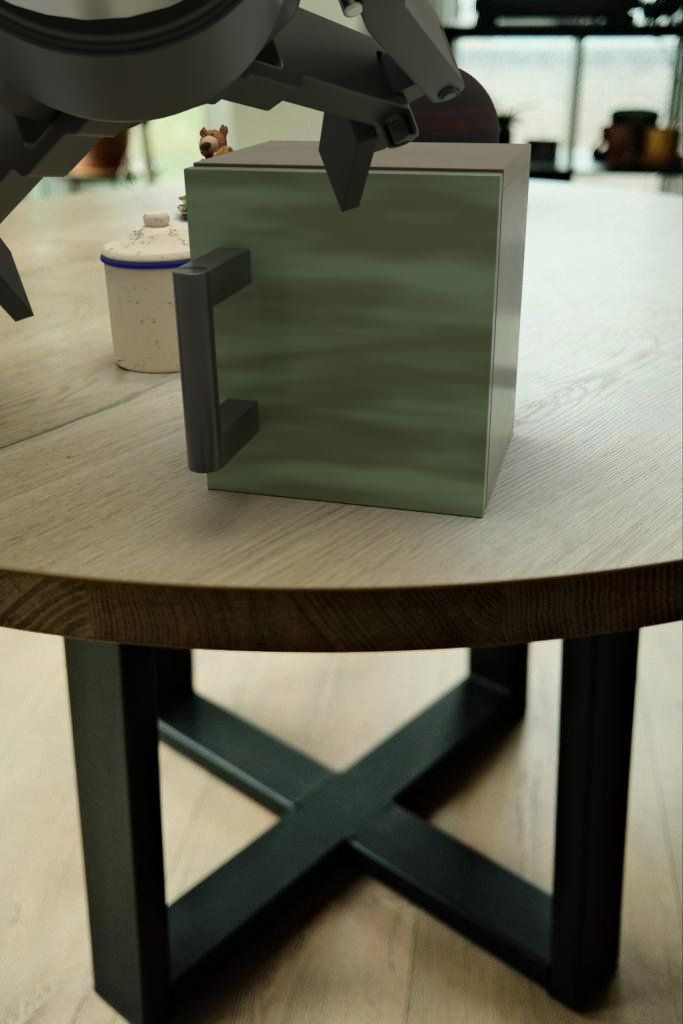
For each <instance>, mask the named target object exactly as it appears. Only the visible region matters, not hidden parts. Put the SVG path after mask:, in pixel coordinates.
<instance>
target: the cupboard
mask: <svg viewBox="0 0 683 1024" xmlns="http://www.w3.org/2000/svg"><path fill="white" fill-rule="evenodd" d="M319 143H320V140H277V139H276V140H274V139H273V140H272V139H271V140H267V141H264V142H261V143H257V144H253V145H250V146H246V147H242V148H240V149H236V150H234V151H232V152H229V153H225V154H222V155H218V156H215V157H211V158H208V159H205V158H204V159H205V160H201V159H200V160H198V161H195V162H193V163H192V166H196V167H245V168H294V169H325V167H324V164H323V161H322V159H321V156H320V153H319V151H318V150H319ZM531 156H532V144H531V143H500V142H499V143H428V142H410V143H408V144H406V145H403V146H401V147H398V148H393V149H391V148H388V147H387V148H386V149H383V150H380V151H377V152H374V154H373V158H372V162H371V165H370V169H369V170H392V171H441V172H490V173H502V174H503V182H502V201H501V220H500V239H499V259H498V278H497V297H496V316H495V335H494V354H493V373H492V393H491V412H490V431H489V450H488V469H487V488H486V508H485V510H487V509H488V506H489V503H490V500H491V497H492V495H493V492H494V489H495V486H496V484H497V480H498V477H499V475H500V472H501V470H502V467H503V463H504V461H505V458H506V456H507V453H508V450H509V447H510V444H511V441H512V438H513V436H514V427H515V425H514V424H515V410H516V397H517V395H516V394H517V381H518V380H517V379H518V365H519V364H518V363H519V347H520V346H519V345H520V332H521V318H522V317H521V316H522V315H521V314H522V300H523V299H522V298H523V284H524V283H523V282H524V269H525V267H524V265H525V251H526V250H525V249H526V237H527V236H526V234H527V220H528V219H527V218H528V207H529V206H528V203H529V186H530V173H531V172H530V171H531Z"/></svg>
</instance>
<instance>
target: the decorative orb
mask: <svg viewBox="0 0 683 1024" xmlns="http://www.w3.org/2000/svg"><path fill="white" fill-rule="evenodd" d="M458 69H459V71H460V74H461V77H462V79H463V82H464V86H465V87H464V88H463V90H462V91H461V93H460V94H458V95H457V96H456V97H453V98H452V99H450V100H447V101H443V102H439V103H434V102H431V101H430V100H429V98H428V97H427V96H426V95H423V96H421V97H419V98H417V99H415V100H414V101H412V102H411V103H409V106H410V109H411V111H412V114H413V117H414V119H415V122H416V124H417V127H418V130H419V135H418V136H417V137H416V138H415V139H414V140H413V141H411V142H428V143H500V121H499V117H498V113H497V110H496V106H495V104H494V102H493V100H492V98H491V96H490V94H489V93H488V91H487V90H486V89H485V87H484V86H483V85H482V83H481V82H480V81H479V80H477V78H475V77H474V76H473V75H472V74H470V73H468V72H467V71H466V70H464V69H462V68H460V67H458Z"/></svg>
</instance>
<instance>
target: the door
mask: <svg viewBox="0 0 683 1024" xmlns="http://www.w3.org/2000/svg"><path fill="white" fill-rule="evenodd" d="M183 177H184V178H183V179H184V191H185V192H184V194H185V195H186V206H187V214H186V217H187V218H186V219H187V231H188V233H189V246H190V259H191V261H190V262H188V263H186V264H184V265H182V266H180V267H178V268H176V269H174V270H173V271H172V281H173V293H174V305H175V317H176V329H177V341H178V352H179V364H180V372H179V374H180V375H179V376H180V387H181V399H182V413H183V422H184V424H183V425H184V435H185V436H184V437H185V445H186V446H185V448H186V457H187V469H188V470H189V471H190V472H192V473H195V474H206V482H207V489H210V490H217V491H220V490H221V491H227V492H230V491H231V492H237V493H246V494H247V493H248V494H249V493H250V494H256V495H265V496H275V497H284V498H285V497H286V498H294V499H303V500H311V501H312V500H313V501H321V502H323V501H324V502H333V503H340V504H352V505H360V506H370V507H379V508H389V509H398V510H410V511H418V512H425V513H437V514H444V515H445V514H446V515H455V516H465V517H474V518H483V517H484V515H485V512H486V509H485V508H486V488H487V469H488V450H489V431H490V412H491V393H492V373H493V354H494V335H495V316H496V297H497V278H498V259H499V239H500V220H501V201H502V182H503V174H502V173H490V172H441V171H392V170H369V172H368V176H367V180H366V183H365V187H364V190H363V194H362V198H361V201H360V205H359V207H356V208H353V209H350V210H347V211H344V212H341V209H340V206H339V204H338V201H337V199H336V196H335V193H334V191H333V188H332V185H331V183H330V180H329V177H328V175H327V172H326V169H294V168H245V167H196V166H193V165H192V166H188V167H185V168H183Z"/></svg>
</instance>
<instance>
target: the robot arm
mask: <svg viewBox="0 0 683 1024" xmlns="http://www.w3.org/2000/svg"><path fill="white" fill-rule="evenodd" d="M337 1H338V3H339V6H340V8H341V12H342V14H343V16H344V17H346V18H348V19H349V18H350V19H351V18H355V17H358V16H359V15H360V16H361V19H362V21H363V24H364V27H365V29H366V31H367V32H368V33H369V34H368V35H367V34H366V33H363V32H360V31H357V30H356V29H353V28H351V27H349V26H346V25H343V24H341V23H339V22H336V21H334V20H331V19H329V18H326V17H324V16H322V15H319V14H317V13H314V12H313V11H309V10H307V9H305V8H302V7H300V4H301V0H0V225H1V224H2V223H3V222H4V221H5V220H6V218H8V216H9V215H10V214H11V213H12V212H13V211H14V210H15V209H16V208H17V207H18V205H20V203H21V202H22V201H23V200H24V199H25V198H26V197H27V196H28V195H29V194H30V193H31V191H33V189H34V188H35V187H36V186H37V185H39V183H40V182H41V180H43V178H65V177H66V176H68V175H69V174H70V173H71V172H72V171H73V170H74V168H76V166H78V165H79V164H80V163H81V161H82V160H83V159H84V158H86V156H87V155H88V154H89V153H90V152H91V151H92V150H93V149H94V148H95V146H97V145H98V144H99V142H101V140H102V139H104V138H115V137H116V136H118V135H119V134H120V133H121V132H123V131H126V130H129V129H132V128H135V127H136V126H137V127H138V126H139V125H141V124H143V123H145V122H150V121H154V120H155V121H157V120H161V119H165V118H168V117H171V116H172V117H173V116H176V115H178V114H181V113H185V112H186V111H190V110H192V109H195V108H199V107H201V106H204V105H210V106H211V105H216V104H217V103H219V102H220V101H222V100H223V101H226V102H229V103H233V104H238V105H242V106H245V107H249V108H253V109H257V110H261V111H266V112H269V111H271V110H272V109H273V108H274V107H276V106H278V105H279V104H281V103H282V102H284V103H285V102H286V103H289V104H293V105H296V106H299V107H304V108H308V109H311V110H314V111H318V112H322V113H323V116H322V123H321V128H320V136H319V141H320V143H319V150H318V151H319V153H320V156H321V159H322V161H323V164H324V167H325V169H326V172H327V175H328V177H329V180H330V183H331V185H332V188H333V191H334V193H335V196H336V199H337V201H338V204H339V206H340V209H341V212H344V211H347V210H350V209H353V208H356V207H359V205H360V201H361V198H362V194H363V190H364V187H365V183H366V180H367V176H368V172H369V169H370V165H371V162H372V158H373V154H374V152H377V151H380V150H383V149H386V148H387V147H388V148H391V149H393V148H398V147H401V146H403V145H406V144H408V143H410V142H411V141H413V140H414V139H415V138H416V137H417V136H418V135H419V130H418V127H417V124H416V122H415V119H414V117H413V114H412V111H411V109H410V106H409V103H411V102H412V101H414V100H415V99H417V98H419V97H421V96H423V95H426V96H427V97H428V98H429V100H430V101H431V102H434V103H439V102H443V101H447V100H450V99H452V98H453V97H456V96H457V95H458V94H460V93H461V91H462V90H463V88H464V87H465V86H464V82H463V79H462V77H461V74H460V71H459V69H458V68H459V66H458V63H457V61H456V58H455V56H454V53H453V51H452V48H451V45H450V43H449V40H448V37H447V35H446V33H445V30H444V27H443V25H442V22H441V19H440V17H439V15H438V13H437V12H436V10H435V9H434V8H433V6H432V5H431V3H430V2H429V0H337ZM0 307H1V308H2V309H3V310H4V311H5V312H6V314H8V316H9V317H10V318H11V319H12V320H13V321H14V322H15V323H16V322H20V321H22V320H25V319H28V318H32V317H34V316H35V314H34V311H33V308H32V306H31V303H30V300H29V298H28V295H27V292H26V289H25V287H24V284H23V282H22V278H21V276H20V273H19V270H18V267H17V265H16V262H15V259H14V256H13V254H12V251H11V250H10V248H9V247H8V245H7V244H6V243H5V241H4V240H3V239H2V237H0Z"/></svg>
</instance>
